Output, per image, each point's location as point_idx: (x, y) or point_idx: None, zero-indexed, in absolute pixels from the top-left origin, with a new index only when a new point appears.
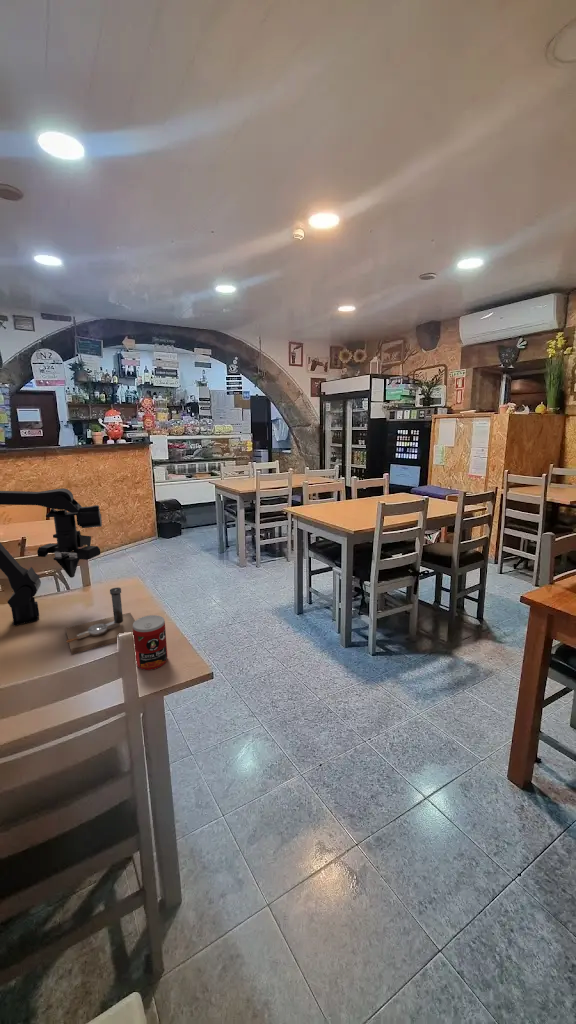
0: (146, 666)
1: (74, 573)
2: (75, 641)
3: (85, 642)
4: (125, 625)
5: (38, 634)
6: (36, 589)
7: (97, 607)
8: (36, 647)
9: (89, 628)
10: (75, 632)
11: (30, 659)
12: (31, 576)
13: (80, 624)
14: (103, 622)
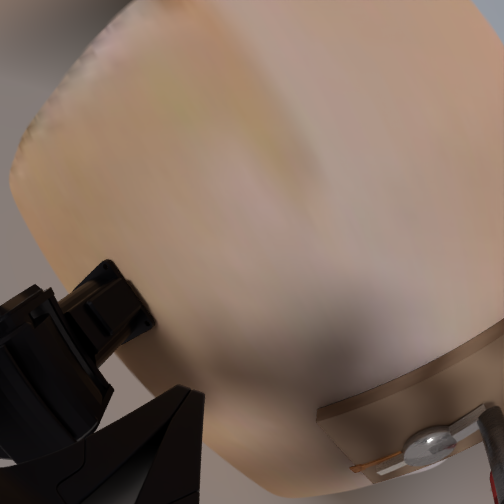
0: None
1: (202, 425)
2: (375, 468)
3: (401, 468)
4: (500, 401)
5: (229, 405)
6: (96, 423)
7: (355, 200)
8: (271, 452)
9: (407, 456)
10: (360, 442)
11: (288, 478)
12: (29, 439)
13: (360, 408)
14: (439, 395)
